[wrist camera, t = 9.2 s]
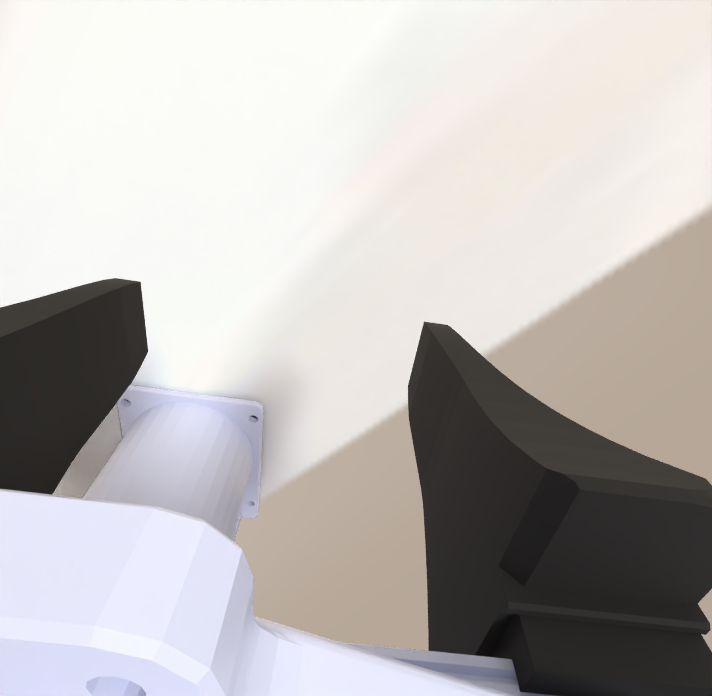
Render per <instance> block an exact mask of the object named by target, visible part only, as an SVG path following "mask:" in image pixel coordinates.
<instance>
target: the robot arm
mask: <svg viewBox="0 0 712 696" xmlns="http://www.w3.org/2000/svg"><path fill="white" fill-rule="evenodd" d="M147 353H148V346H147V337H146V328H145V319H144V310H143V301H142V292H141V282H138V281H131V280H123V279H116V278H115V279H107V280H102V281H98V282H93V283H89V284H86V285H82V286H78V287H75V288H71V289H68V290H64V291H61V292H57V293H54V294H50V295H47V296H43V297H40V298H36V299H32V300H28V301H25V302H21V303H17V304H13V305H9V306H5V307H1V308H0V696H712V652H711V650H710V649H709V647H708V646H707V644H706V642H705V640H704V639H703V637H702V635H701V634H705V635H706V634H707V633H708V632H709V631H710V623H709V621H708V620H707V618H706V617H705V615H704V613H703V612H702V610H701V609H700V607H699V605H698V603H699V601H700V600H701V599H702V598H703V597H704V596H705V595H706V594H707V593H708V592H709V591H710V590H711V589H712V485H711V484H710V483H709V482H708V481H707V480H706V479H705V478H703V477H700V476H697V475H695V474H692V473H689V472H687V471H684V470H681V469H679V468H676V467H673V466H671V465H668V464H666V463H663V462H660V461H658V460H655V459H652V458H650V457H647V456H645V455H642V454H640V453H638V452H635V451H633V450H631V449H629V448H626V447H624V446H622V445H620V444H617V443H615V442H613V441H611V440H608V439H607V438H605V437H603V436H600V435H599V434H597V433H594V432H592V431H590V430H589V429H587V428H585V427H583V426H581V425H579V424H577V423H576V422H574V421H572V420H570V419H568V418H566V417H565V416H563V415H561V414H560V413H558V412H556V411H555V410H553V409H551V408H550V407H548V406H547V405H545V404H544V403H542V402H541V401H539V400H538V399H536V398H535V397H533V396H531V395H530V394H529V393H527V392H526V391H524V390H523V389H522V388H520V387H519V386H517V385H516V384H515V383H514V382H512V381H511V380H510V379H509V378H507V377H506V376H505V375H504V374H502V373H501V372H500V371H499V370H498V369H496V368H495V367H494V366H493V365H492V364H491V363H489V362H488V361H487V360H486V359H485V358H484V357H483V356H482V355H481V354H479V353H478V352H477V351H476V350H475V349H474V348H473V347H472V346H471V345H470V344H469V343H468V342H467V341H465V340H464V339H463V338H462V337H461V336H460V335H459V334H458V333H457V332H456V331H455V330H453V329H452V328H451V327H449V326H448V325H443V324H436V323H429V322H424V325H423V329H422V332H421V336H420V340H419V344H418V348H417V352H416V356H415V360H414V364H413V368H412V372H411V376H410V380H409V384H408V408H409V421H410V428H411V433H412V439H413V445H414V451H415V456H416V462H417V467H418V473H419V479H420V485H421V491H422V498H423V509H424V525H425V541H426V564H427V587H428V588H427V590H428V628H429V651H425V650H415V649H405V648H395V647H385V646H376V645H366V644H356V643H345V642H338V641H334V640H331V639H328V638H324V637H321V636H318V635H315V634H312V633H308V632H305V631H302V630H298V629H295V628H292V627H288V626H285V625H282V624H278V623H275V622H272V621H269V620H266V619H262V618H259V617H256V616H254V615H253V609H252V606H253V585H254V579H253V576H252V574H251V571H250V569H249V566H248V564H247V561H246V559H245V556H244V553H243V551H242V549H241V548H240V547H239V546H238V545H237V544H236V543H235V542H234V540H235V537H236V533H237V530H238V526H239V523H240V520H241V518H250V519H251V518H255V517H257V515H258V512H259V496H260V477H261V457H262V437H263V418H264V407H263V405H262V404H261V403H259V402H257V401H250V400H243V399H235V398H227V397H219V396H212V395H204V394H196V393H188V392H181V391H173V390H165V389H157V388H150V387H142V386H134V385H130V384H131V383H132V381H133V379H134V378H135V376H136V374H137V372H138V370H139V369H140V367H141V365H142V363H143V361H144V359H145V357H146V355H147ZM125 399H127V400H128V401H130V402H127V401H126V400H125ZM116 403H117V405H118V411H119V418H120V424H121V430H122V436H123V439H122V441H121V442H120V444H119V445H118V447H117V448H116V450H115V451H114V452H113V454H112V455H111V457H110V458H109V460H108V461H107V463H106V464H105V466H104V467H103V469H102V470H101V471H100V473H99V474H98V476H97V477H96V479H95V480H94V482H93V483H92V485H91V486H90V487H89V489H88V490H87V492H86V493H85V495H84V496H83V498H77V497H68V496H59V495H52V494H53V492H54V491H55V489H56V487H57V486H58V484H59V482H60V481H61V479H62V477H63V476H64V474H65V472H66V471H67V469H68V467H69V466H70V464H71V462H72V461H73V460H74V458H75V457H76V455H77V454H78V452H79V451H80V450H81V448H82V447H83V446H84V444H85V443H86V442H87V440H88V439H89V438H90V436H91V435H92V434H93V433H94V431H95V430H96V429H97V427H98V426H99V425H100V424H101V422H102V421H103V420H104V418H105V417H106V416H107V414H108V413H109V412H110V411H111V409H112V408H113V407H114V405H115V404H116ZM252 415H254V416H256V417H257V418H253V417H251V416H252Z"/></svg>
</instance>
